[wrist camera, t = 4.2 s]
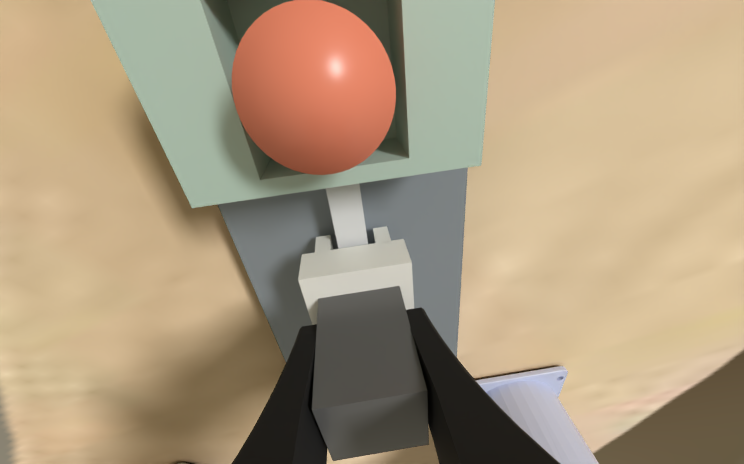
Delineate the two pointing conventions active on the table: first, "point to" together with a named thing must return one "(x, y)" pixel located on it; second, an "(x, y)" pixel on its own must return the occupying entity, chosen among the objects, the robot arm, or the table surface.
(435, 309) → the rail board
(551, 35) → the table surface
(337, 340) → the carriage
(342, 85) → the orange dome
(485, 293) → the table surface
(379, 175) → the end cabinet
